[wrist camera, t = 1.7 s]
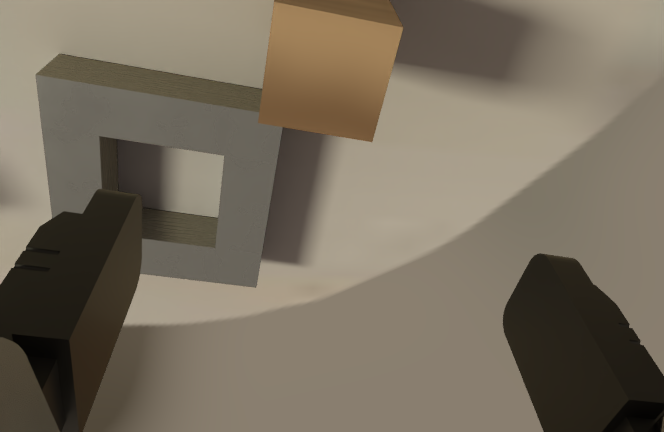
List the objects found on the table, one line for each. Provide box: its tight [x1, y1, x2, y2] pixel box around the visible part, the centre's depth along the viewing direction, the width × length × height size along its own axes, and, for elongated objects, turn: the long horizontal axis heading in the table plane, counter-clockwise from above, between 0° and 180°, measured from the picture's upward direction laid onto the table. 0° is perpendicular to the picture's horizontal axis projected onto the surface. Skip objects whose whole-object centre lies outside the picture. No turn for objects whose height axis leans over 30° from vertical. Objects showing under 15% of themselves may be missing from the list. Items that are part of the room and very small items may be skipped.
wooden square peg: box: [258, 0, 403, 142], centre depth 23 cm, size 4×4×10 cm
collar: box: [36, 54, 283, 288], centre depth 31 cm, size 12×12×3 cm
